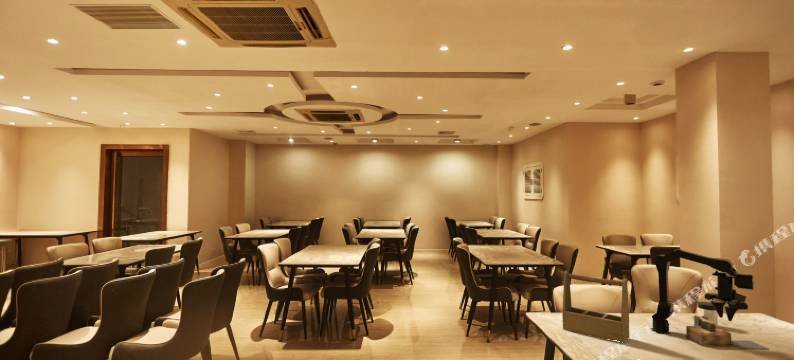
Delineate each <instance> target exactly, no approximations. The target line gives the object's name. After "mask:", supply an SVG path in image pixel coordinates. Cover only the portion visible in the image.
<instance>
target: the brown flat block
mask: <svg viewBox="0 0 794 360" xmlns="http://www.w3.org/2000/svg"><path fill="white" fill-rule="evenodd" d="M685 328H686V327H685ZM685 331H686V333H685V335H686V337H685V338H686V339H688V340H690V341H692V343H695V344H697V345H699V346H701V347H732V345H731V340H732V334H731V335H700V334H698V333H696V332H694V331H692V330H690V329H687V328H686V330H685Z"/></svg>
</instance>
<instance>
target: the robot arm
mask: <svg viewBox="0 0 794 360" xmlns="http://www.w3.org/2000/svg"><path fill="white" fill-rule="evenodd" d="M679 258H680V259H682V260H683V259H684V260H687V261H691V262H695V263H697V264H698V263H699V264H700V265H701V264H702V265H705V266H708V267H710V268H712V269H713V270H715V271H714V272H713V273H711V276H715V277H716V283H717V285H716V286H715V287H714V290H716V291H717V293H716V292H710V293H709V292H706V293H705V294H704V299H705V300H706V301H709V302H710V303H712V305H713V306H714V308H715V310H716V312H717V313H718V317H719V318H721V319H723V317H724V310H725V314H726V317H727V320H728V322H732V321H733V320H734V319H733V318H734V316H735V315H736V314H737V312H738V310H739V311H740V310H741V311H742V310H744V311H745V310H749V305H748V303H747V302H746V300H747V296H746V295H744V294H740V293H738V292H737V290H736V289H734V286H735V287H737V288H738V289H742V290H744V289H745V290H751V291H754V289H755V281H754V275H753V274H746V273H739V272H738V270H737V269H736V268H735V267H734V264H733V261H731V260H730V259H729V258H728V259H726V258H722V257H721V258H720V257H711V256H706V255H701V254H698V253H694V252H691V251H688V250H683V249H681V248H677V249H675V250H674V251H671V252H668V253H667V254H659V255H657V256H655V258H654V264H655V269H656V270H657V273H658V274H657V275H658V293H659V294H658V295H659V297H658V299H659V300H658V303H657V307H656V308H657V309H656V312H655V313H654V314H653V315H651V318H652V327H651V328H650V330H651V329H652V330H651V331H652V332H655V333H656V334H671V332H670V323H669V320H668V319H669V318H670V317H672V315H673V313H674V312H675V309H674V306H675V305H674V304H675V303H671V301H670V292H669V291H670V290H669V271H670V266H671V262H672V261H674V260H677V259H679ZM726 304H727V305H728V306H725V305H726Z"/></svg>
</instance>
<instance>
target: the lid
mask: <svg viewBox="0 0 794 360" xmlns="http://www.w3.org/2000/svg"><path fill="white" fill-rule="evenodd" d="M685 328H687V329H690V330H692V331H694V332H696V333H698V334H700V335H731V336H732V333H731V332H729V331H726V330H724V329H722V328H720V327H717V328H716V325H714V324H711V323H709V322H706V321H701V326H694V325H686V326H685Z"/></svg>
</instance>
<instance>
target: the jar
mask: <svg viewBox="0 0 794 360" xmlns="http://www.w3.org/2000/svg"><path fill="white" fill-rule="evenodd" d="M696 315H697V316H700V317H702V316H705V317H707V318H708V320H709V321H712V322H714V323H717V327H718V324H719V322H718V317H719V315H718V313H717V312H716V310H715V308H714V306H713V305H712V303H711V302H710V301H698V302H697V307H696ZM718 328H719V327H718Z"/></svg>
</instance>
